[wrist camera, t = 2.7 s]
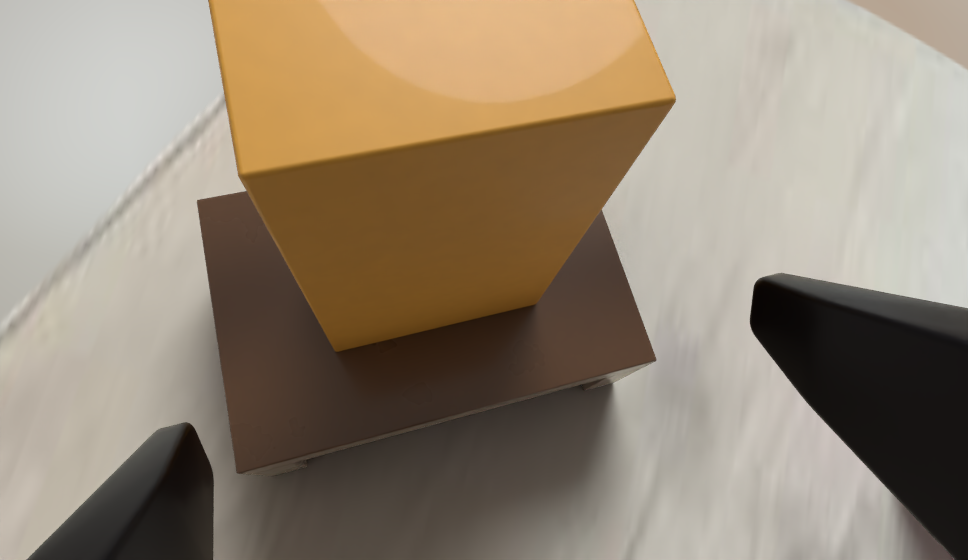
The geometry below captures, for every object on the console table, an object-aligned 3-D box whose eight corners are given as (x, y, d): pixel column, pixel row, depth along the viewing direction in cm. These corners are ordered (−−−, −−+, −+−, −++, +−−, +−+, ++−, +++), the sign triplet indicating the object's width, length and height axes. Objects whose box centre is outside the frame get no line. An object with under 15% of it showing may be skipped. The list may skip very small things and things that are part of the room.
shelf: (614, 382, 21) (657, 360, 18) (270, 476, 19) (236, 474, 15) (547, 187, 24) (573, 130, 20) (233, 250, 21) (196, 199, 18)
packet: (537, 304, 18) (680, 99, 8) (334, 353, 17) (237, 178, 7) (508, 214, 19) (609, -62, 9) (314, 255, 17) (204, -15, 8)
